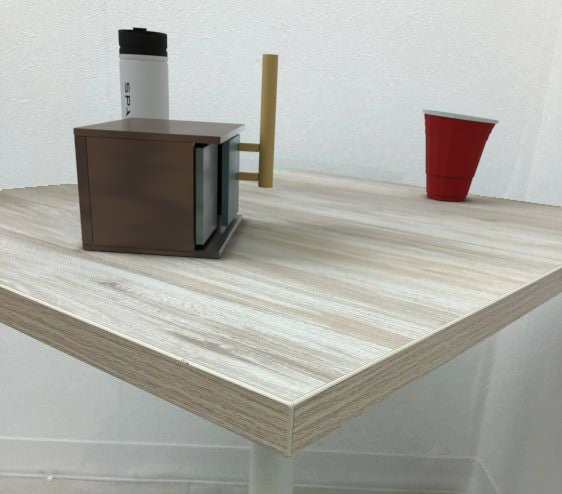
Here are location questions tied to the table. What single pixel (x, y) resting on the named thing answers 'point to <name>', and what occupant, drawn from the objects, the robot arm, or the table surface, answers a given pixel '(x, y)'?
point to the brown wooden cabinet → (153, 186)
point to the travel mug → (143, 74)
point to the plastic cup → (453, 152)
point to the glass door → (252, 146)
